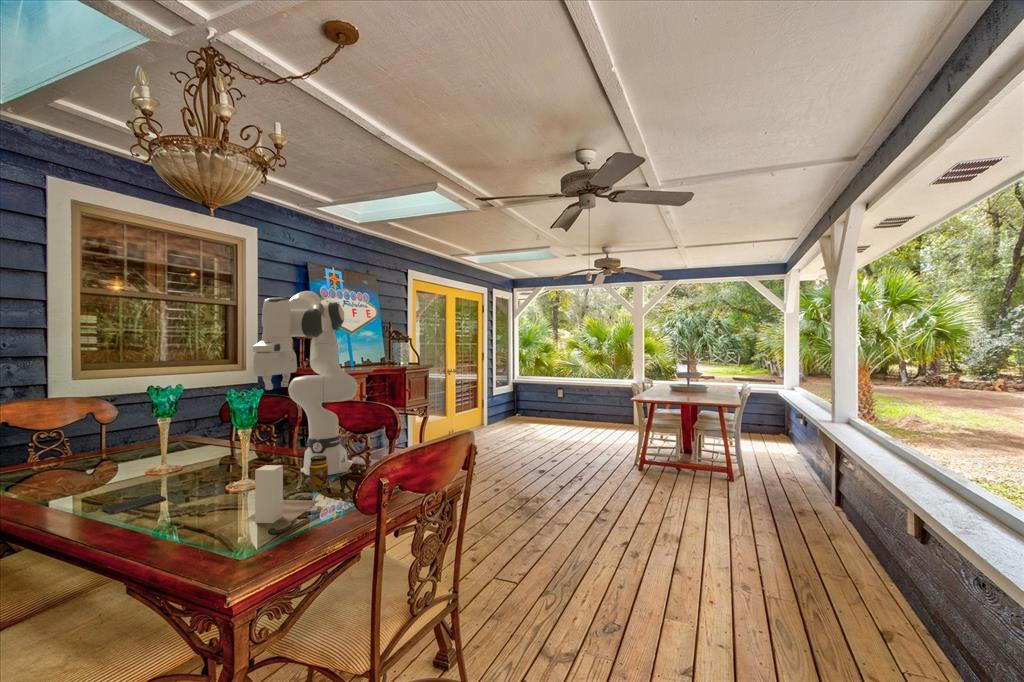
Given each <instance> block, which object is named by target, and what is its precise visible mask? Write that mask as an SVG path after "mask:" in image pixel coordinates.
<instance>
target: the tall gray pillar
mask: <svg viewBox="0 0 1024 682" xmlns="http://www.w3.org/2000/svg"><path fill="white" fill-rule="evenodd" d="M254 477H255V478H254V491H255V493H254V502H255V503H254V504H255V506H254V508H255V509H254V512H255V513H254V514H255V522H254V523H255V524H274V523H277V522H276V521H277V520H279V519H280V518H281V517H283V500H284V465H282V464H281V465H280V464H279V465H275V464H271V465H270V464H269V465H268V464H265V465H263V466H261V467H259V468H257V469H255V471H254Z"/></svg>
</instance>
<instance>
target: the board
mask: <svg viewBox="0 0 1024 682" xmlns="http://www.w3.org/2000/svg"><path fill="white" fill-rule="evenodd" d="M318 502H319V500H311V499H310V500H306V499H304V500H303V499H300V500H299V499H298V500H297V499H295V500H294V499H291V500H290V499H283V517H281V518H280V519H279V520H277V521H276V522H275V523H291V522H293V521H294V520H295V519H297V518H298V517H299V516H301V515H302V514H303V513H305V512H306V511H307V510H309V509H310V508H312V507H313V506H315V505H316V504H317V503H318ZM243 522H253V523H255V513H254V514H252V515H250V516H248V517H247V518H246V519H244V520H243Z"/></svg>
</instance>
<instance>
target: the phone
mask: <svg viewBox="0 0 1024 682" xmlns="http://www.w3.org/2000/svg"><path fill="white" fill-rule="evenodd" d="M163 500H165V501H166V500H167V497H166V496H162V495H160V494H151V495H146V496H142V497H138V498H134V499H131V500H127V501H126V500H125V501H121V502H118V503H113V504H110V505H106V506H103V507H101V511H102V510H103V511H102V512H104V511H106V512H108V513H107V514H109V513H111V514H110V515H113V514H112V513H115V514H118V513H117V512H119V513H122V512H121V511H123V512H126V511H125V510H127V511H129V510H128V509H131V510H134V509H133V508H135V509H138V508H137V507H139V508H141V507H140V506H143V507H145V506H144V505H147V506H149V505H148V504H150V505H153V504H152V503H154V504H156V503H155V502H158V503H160V502H159V501H162V502H164V501H163ZM106 512H105V513H106Z"/></svg>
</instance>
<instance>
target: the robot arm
mask: <svg viewBox="0 0 1024 682" xmlns="http://www.w3.org/2000/svg"><path fill="white" fill-rule="evenodd" d="M261 313H262V315H261V326H262V329H263V331H262V334H261V340H259V342H258V343H256V344H254V345H253V346H252V351H253V353H254V355H253V373H254V375H255V376H256V377H262V381H263V382H264V389H265V390H266V391H270V390H273V389H274V384H273V383H272V377H273V376H278V375H282V381H280V387H281V388H286V387H287V389H288V395H289V397H290V399H291V401H293V402H295V403H296V404H297V405H298V406H300V407H301V408H302V410H303V411H304V412H305V414H306V417H307V422H308V437H307V447H308V448H307V449H305V451H304V457H303V458H304V459H303V467H302V468H300V473H303V474H304V475H306V476H309V466H310V462H311V460H310V459H311V457H313V456H319V455H323V456H326V457H327V464H328V476H330V475H336V474H340V473H346V472H348V471H349V470H350V468H351V467H352V465H353V463H354V461H353V460H350V459H348V450H346V448H345V447H344V446H343V445H342V444H341V440H342V439H343V433H341V434H340V433H339V417H338V415H337V414H336V413H335V412H333V411H331V410H328V409H326V408H324V407H323V406H322V404H323V403H335V402H337V403H339V402H345V401H348V400H353V398H354V397H355V396H356V394H357V392H358V388H359V387H358V383H357V381H356V379H355V378H354V377H353V376H352V375H350V374H348V373H347V372H346V371H344V369H342V367H341V366H340V363H339V362H340V361H339V346H338V341H337V340H338V339H337V336H336V334H335V331H336V332H338V331H339V330H340V327H342V326H343V323H344V322H345V312H344V309H343V308H342V305H341V304H339V303H338V302H328V303H322V300H321V298H320V296H319V294H317V293H316V292H314V291H312V290H304V291H300V292H298V293H296V294H294V295H293V296H291V298H290V299H289V298H287V297H278V296H277V297H276V296H275V297H268V298H266V299H264V301H263V305H262V311H261ZM293 337H295V338H296V337H300V338H301V337H302V338H303V337H306V338H311V342H310V348H309V349H310V352H309V353H310V354H309V355H310V356H309V366H310V368H311V369H312V370H313V372H314V373H316V374H313V375H312V374H311V375H309V374H308V375H301V376H296V377H294V378H293V379H292V380H291V381H290V379H291V374H292V373H296V372H297V371H298V370H297V369H298V363H297V362H298V361H297V354H296V352H295V350H294V348H293V342H292V341H293V340H292V339H293ZM289 381H290V383H289Z"/></svg>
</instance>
